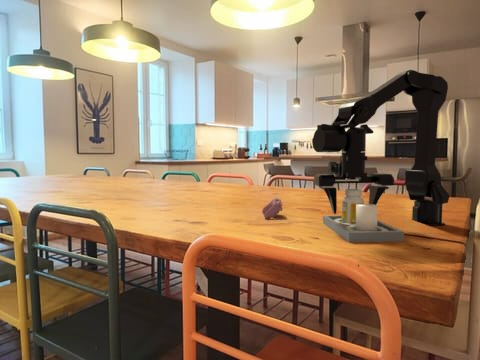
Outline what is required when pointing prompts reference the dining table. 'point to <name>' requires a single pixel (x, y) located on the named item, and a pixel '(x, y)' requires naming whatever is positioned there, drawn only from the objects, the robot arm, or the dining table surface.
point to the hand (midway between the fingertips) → (352, 213)
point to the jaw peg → (366, 217)
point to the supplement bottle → (351, 205)
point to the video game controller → (272, 208)
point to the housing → (351, 235)
